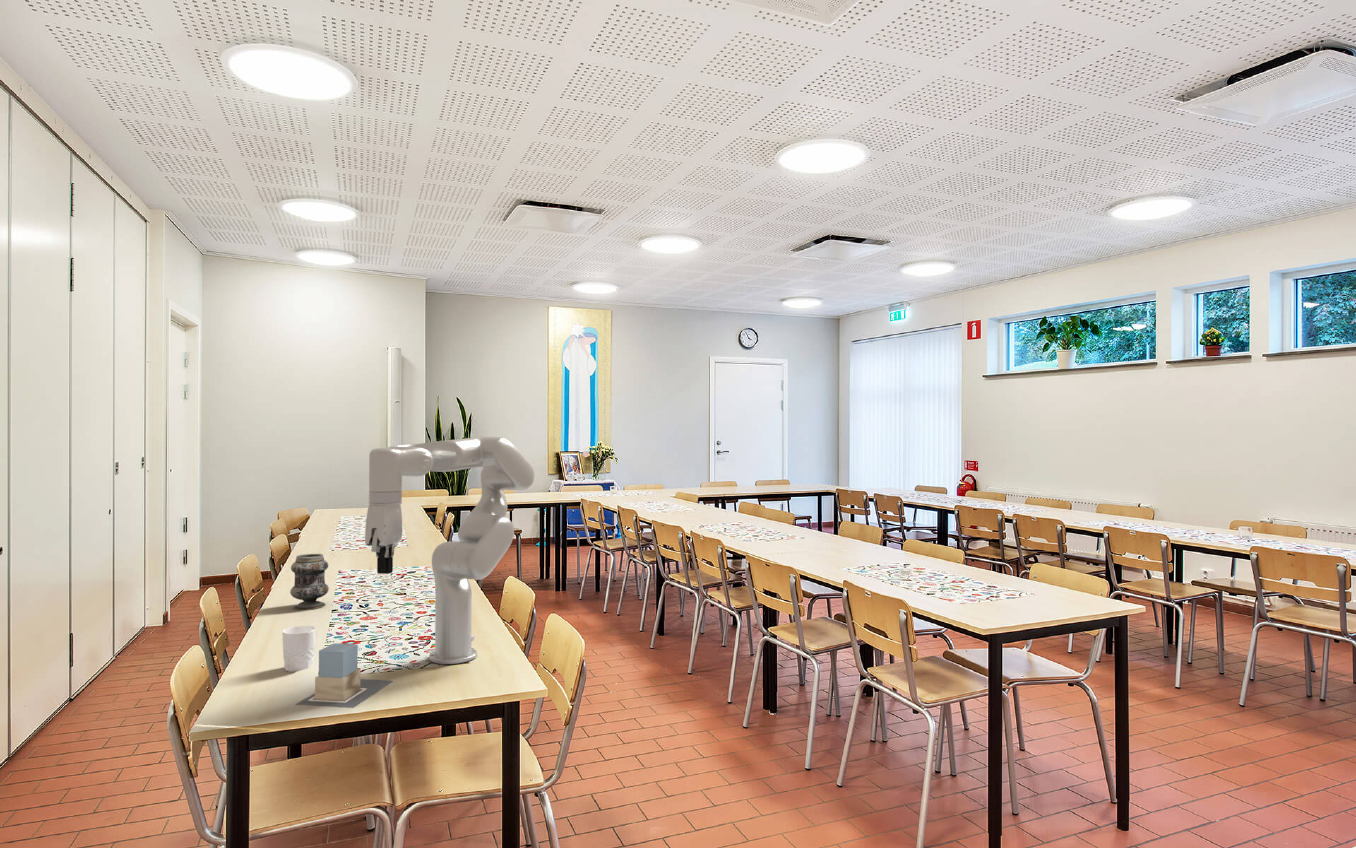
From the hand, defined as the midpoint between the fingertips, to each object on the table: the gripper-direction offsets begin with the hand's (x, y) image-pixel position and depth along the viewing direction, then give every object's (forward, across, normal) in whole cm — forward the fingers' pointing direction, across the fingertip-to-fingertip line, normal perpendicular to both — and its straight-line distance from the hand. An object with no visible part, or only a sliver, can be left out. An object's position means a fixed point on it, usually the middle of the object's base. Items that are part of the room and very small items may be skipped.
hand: (384, 573), depth 185 cm
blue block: (+22, +10, -6) cm, 25 cm away
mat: (+27, +8, -5) cm, 29 cm away
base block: (+27, +10, -6) cm, 29 cm away
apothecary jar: (+27, -70, -66) cm, 100 cm away
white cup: (+27, -8, -28) cm, 40 cm away
